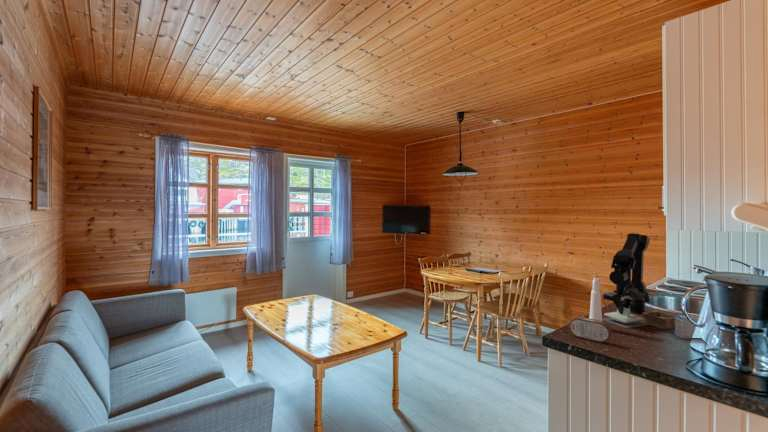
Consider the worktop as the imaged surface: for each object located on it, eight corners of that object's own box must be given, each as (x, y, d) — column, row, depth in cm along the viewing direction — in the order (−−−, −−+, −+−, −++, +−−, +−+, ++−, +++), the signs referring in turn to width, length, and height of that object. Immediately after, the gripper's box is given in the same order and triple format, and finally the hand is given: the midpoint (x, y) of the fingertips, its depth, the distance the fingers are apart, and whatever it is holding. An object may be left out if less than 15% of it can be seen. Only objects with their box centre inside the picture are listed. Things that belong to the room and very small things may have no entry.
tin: (612, 343, 137) (612, 322, 136) (610, 345, 134) (610, 324, 134) (570, 333, 147) (570, 314, 147) (568, 335, 145) (568, 315, 144)
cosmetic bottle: (589, 328, 153) (589, 279, 152) (586, 324, 159) (587, 276, 158) (605, 330, 151) (605, 280, 150) (601, 325, 157) (602, 277, 156)
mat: (619, 316, 170) (619, 316, 170) (647, 325, 157) (647, 324, 157) (599, 319, 166) (599, 318, 166) (626, 328, 153) (626, 327, 153)
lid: (620, 315, 168) (620, 303, 168) (643, 322, 158) (643, 310, 158) (604, 317, 165) (604, 306, 165) (626, 325, 154) (626, 312, 154)
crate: (656, 320, 164) (657, 310, 164) (680, 327, 155) (680, 317, 154) (641, 322, 161) (641, 312, 161) (665, 329, 151) (665, 319, 151)
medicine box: (694, 335, 145) (695, 314, 145) (703, 339, 140) (703, 318, 140) (674, 334, 146) (674, 314, 145) (682, 338, 141) (682, 317, 141)
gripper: (625, 285, 150) (625, 321, 151) (656, 282, 156) (655, 317, 157) (602, 280, 161) (602, 313, 161) (631, 278, 167) (631, 310, 167)
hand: (623, 313), depth 161 cm, fingers closed on lid
